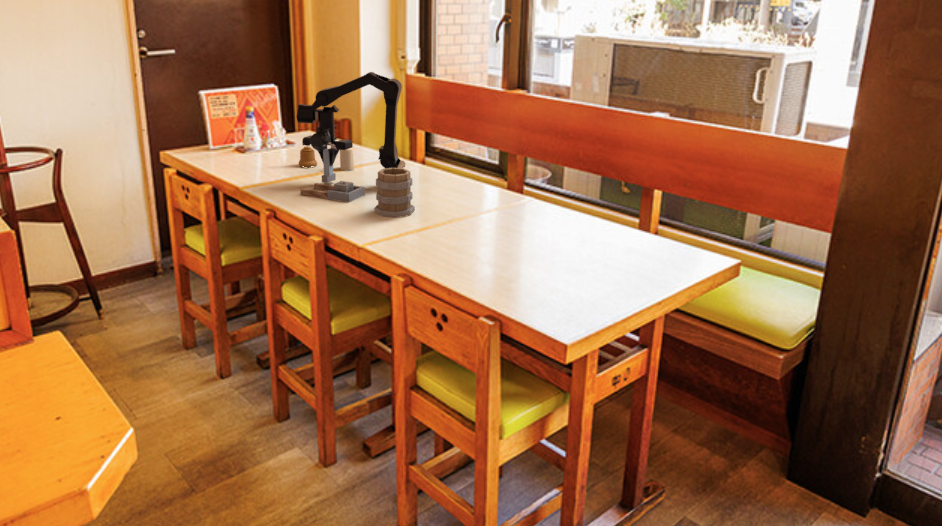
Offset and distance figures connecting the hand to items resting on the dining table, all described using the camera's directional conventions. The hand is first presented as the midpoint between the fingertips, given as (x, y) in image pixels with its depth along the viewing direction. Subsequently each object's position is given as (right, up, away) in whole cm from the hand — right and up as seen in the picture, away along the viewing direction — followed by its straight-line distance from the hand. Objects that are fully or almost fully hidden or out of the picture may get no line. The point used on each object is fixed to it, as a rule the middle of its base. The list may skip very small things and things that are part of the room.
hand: (328, 165), depth 282 cm
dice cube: (+8, -13, -13) cm, 20 cm away
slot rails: (-1, -11, -9) cm, 15 cm away
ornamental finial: (-14, +3, +28) cm, 32 cm away
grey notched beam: (0, -6, +2) cm, 6 cm away
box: (+9, -13, -13) cm, 20 cm away
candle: (+3, +1, +25) cm, 25 cm away
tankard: (+29, -18, -25) cm, 42 cm away
